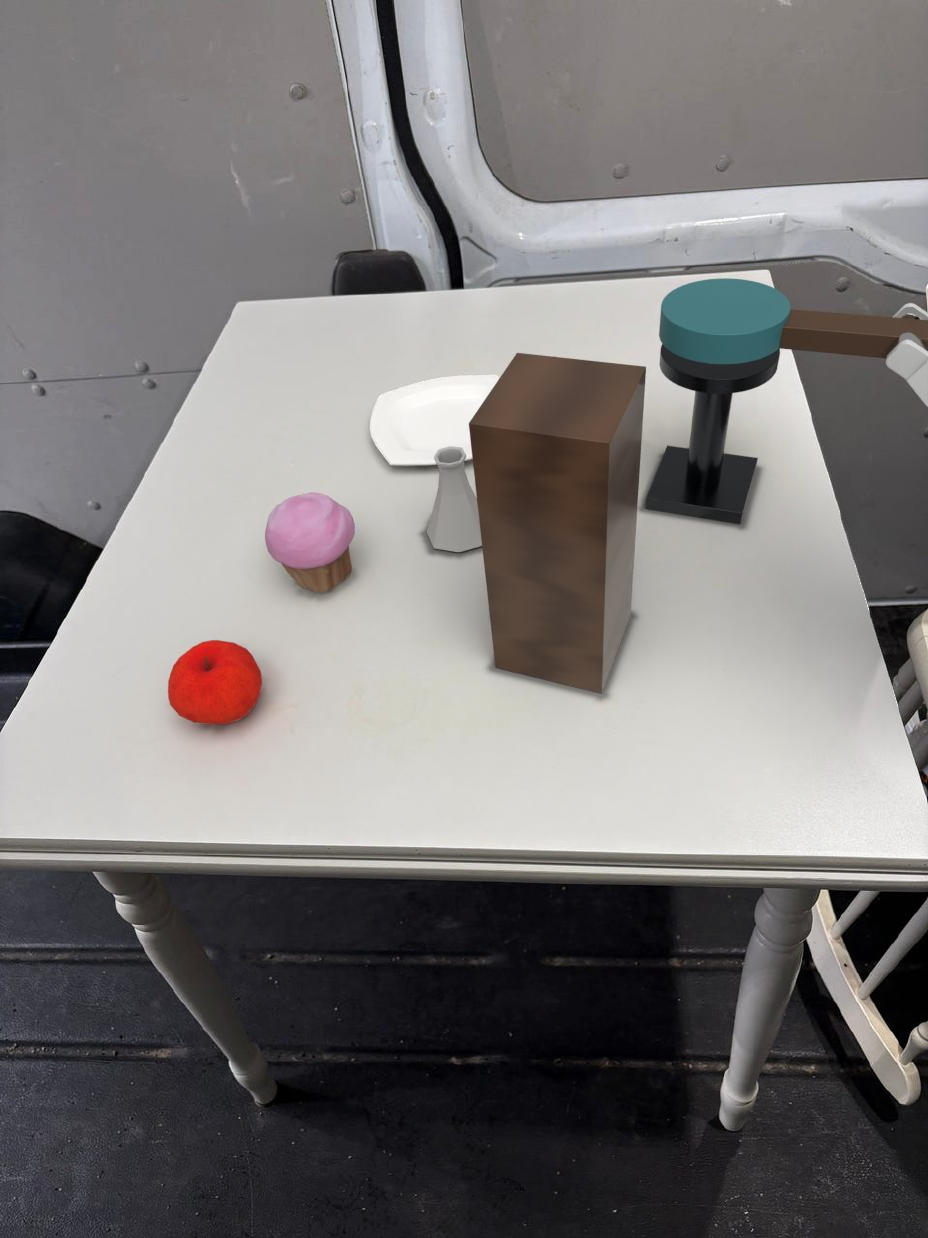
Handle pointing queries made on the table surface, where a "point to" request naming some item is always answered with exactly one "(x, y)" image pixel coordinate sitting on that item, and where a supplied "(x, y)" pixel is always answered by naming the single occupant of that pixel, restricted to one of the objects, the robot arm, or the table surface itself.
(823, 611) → the table surface
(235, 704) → the apple
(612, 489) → the pedestal
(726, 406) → the display stand
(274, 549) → the cupcake
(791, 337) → the disc paddle
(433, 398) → the plate
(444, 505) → the flask
